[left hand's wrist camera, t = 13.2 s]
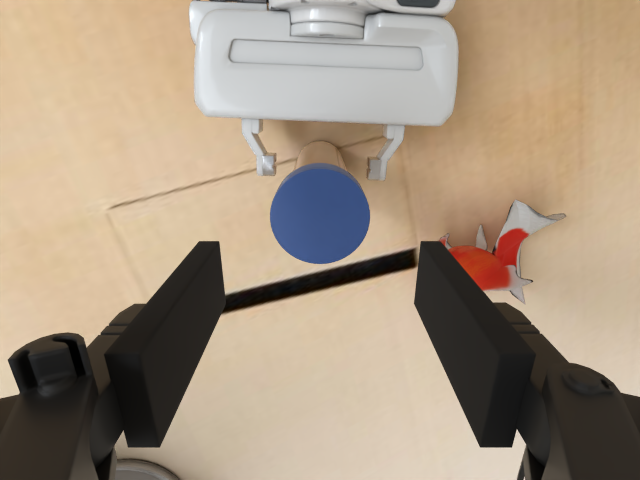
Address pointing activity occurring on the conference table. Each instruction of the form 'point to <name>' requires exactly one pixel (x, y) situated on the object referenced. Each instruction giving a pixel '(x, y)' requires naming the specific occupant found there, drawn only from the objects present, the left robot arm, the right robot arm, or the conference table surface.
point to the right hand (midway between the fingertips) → (321, 177)
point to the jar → (320, 155)
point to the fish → (502, 251)
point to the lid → (320, 213)
